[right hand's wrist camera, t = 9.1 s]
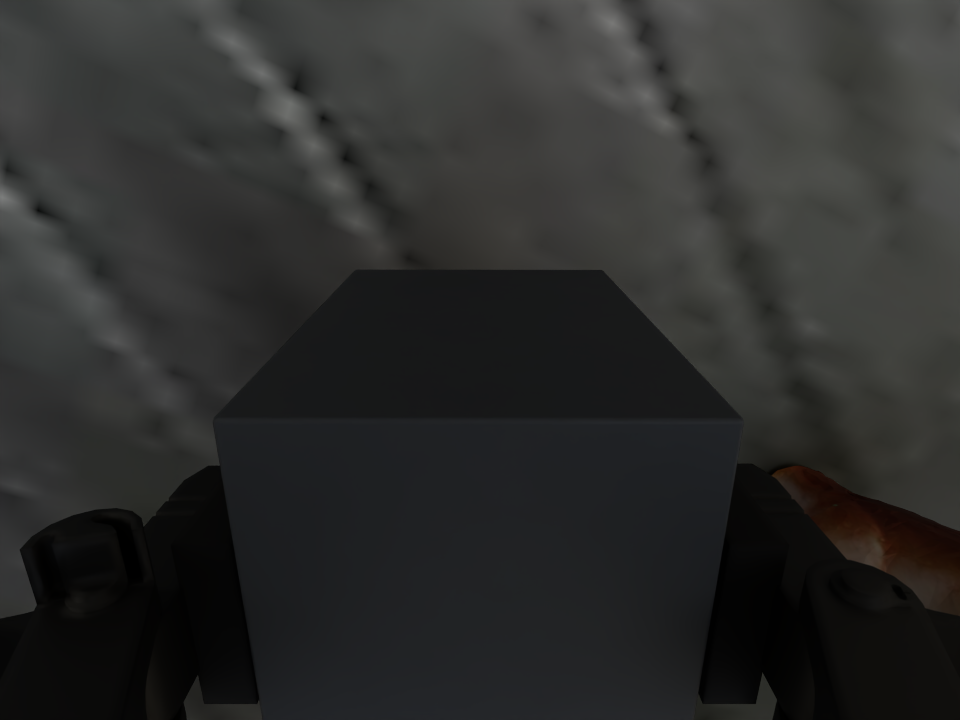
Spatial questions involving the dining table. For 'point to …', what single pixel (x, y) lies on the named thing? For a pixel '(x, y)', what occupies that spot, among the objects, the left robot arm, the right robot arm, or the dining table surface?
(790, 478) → the figurine
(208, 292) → the dining table surface
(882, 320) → the dining table surface
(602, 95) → the dining table surface
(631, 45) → the dining table surface
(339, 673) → the bar
